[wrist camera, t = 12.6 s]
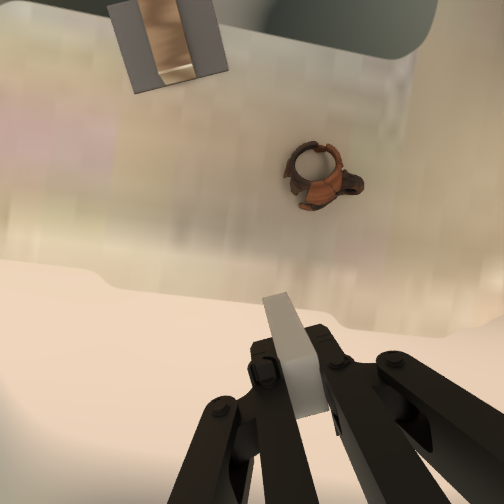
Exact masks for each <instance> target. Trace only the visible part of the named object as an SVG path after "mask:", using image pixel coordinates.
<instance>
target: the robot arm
mask: <svg viewBox="0 0 504 504" xmlns="http://www.w3.org/2000/svg"><path fill="white" fill-rule="evenodd" d="M262 300H263V304H264V307H265V311H266V315H267V319H268V323H269V327H270V330H271V334H272V337H271V338H267V339H263V340H260V341H256V342H253V344H252V346H251V348H250V350H251V351H250V352H251V360H252V361H251V362H250V363H249V365H248V368H247V369H248V373H249V376H250V379H251V383H252V386H253V387H252V389H251V390H250V391H249V392H248V393H247V394H246V395H245V396H243V397H242V398H240V399H238V400H235V398H233V397H231V396H220V397H217V398H215V399H214V400H212V401H211V402H210V403H209V404H208V405H207V406H206V408H205V409H204V411H203V414H202V417H201V419H200V421H199V424H198V426H197V429H196V431H195V434H194V437H193V439H192V442H191V444H190V447H189V449H188V452H187V454H186V457H185V459H184V462H183V464H182V467H181V469H180V472H179V474H178V477H177V479H176V482H175V484H174V487H173V490H172V492H171V495H170V497H169V500H168V502H167V504H247V502H248V496H249V490H250V484H251V478H252V471H253V465H254V456H256V455H257V454H259V453H260V458H261V468H262V477H263V485H264V495H265V504H319V501H318V497H317V494H316V490H315V487H314V483H313V479H312V476H311V472H310V469H309V465H308V462H307V458H306V454H305V450H304V447H303V443H302V439H301V436H300V432H299V429H298V425H297V422H296V419H300V418H303V417H307V416H311V415H315V414H318V413H322V412H326V411H329V407H330V409H331V413H332V417H333V421H334V426H335V431H336V435H337V436H339V435H340V438H341V440H342V442H343V445H344V447H345V450H346V452H347V454H348V457H349V459H350V461H351V464H352V466H353V469H354V471H355V473H356V475H357V478H358V480H359V483H360V485H361V487H362V490H363V492H364V495H365V497H366V499H367V502H368V504H451V503H450V501H449V500H448V498H447V497H446V495H445V494H444V492H443V491H442V489H441V488H440V486H439V485H438V483H437V482H436V480H435V479H434V478H433V476H432V475H431V473H430V472H429V470H428V469H427V467H426V466H425V464H424V463H423V461H422V460H421V458H420V457H419V455H418V454H417V452H418V453H419V454H420V455H421V456H422V457H423V458H424V459H425V460H426V461H427V462H428V463H429V464H430V465H431V466H432V467H433V468H434V469H435V470H436V471H437V472H438V473H439V474H440V475H441V476H442V477H443V478H444V479H445V480H446V481H447V482H449V483H450V485H452V486H453V487H454V488H455V489H456V490H457V491H458V492H459V493H460V494H461V495H462V496H463V497H464V498H465V499H466V500H467V501H468V502H469V503H470V504H504V414H503V413H501V412H500V411H498V410H496V409H495V408H493V407H492V406H490V405H489V404H487V403H485V402H484V401H482V400H480V399H479V398H477V397H476V396H474V395H473V394H471V393H469V392H468V391H466V390H465V389H463V388H461V387H460V386H458V385H457V384H455V383H453V382H452V381H450V380H449V379H447V378H445V377H444V376H442V375H441V374H439V373H437V372H436V371H434V370H433V369H431V368H429V367H428V366H426V365H425V364H423V363H421V362H420V361H418V360H417V359H415V358H413V357H412V356H410V355H409V354H406V353H404V352H401V351H386V352H383V353H381V354H380V355H378V356H377V358H376V363H359V362H355V361H354V359H353V358H351V357H350V356H348V355H346V354H344V352H343V351H342V349H341V348H340V346H339V344H338V343H337V341H336V340H335V339H334V337H333V335H332V334H331V332H330V331H329V329H328V328H327V327H325V326H324V325H322V324H317V325H314V326H310V327H306V328H304V327H303V325H302V323H301V321H300V319H299V317H298V315H297V313H296V311H295V309H294V307H293V305H292V303H291V301H290V299H289V296H288V294H287V292H284V293H280V294H276V295H273V296H269V297H265V298H262ZM328 404H329V406H328ZM415 450H416V451H417V452H416V451H415Z"/></svg>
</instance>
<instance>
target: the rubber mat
mask: <svg viewBox="0 0 504 504" xmlns="http://www.w3.org/2000/svg"><path fill="white" fill-rule="evenodd" d="M176 1H177V5H178V9H179V13H180V17H181V20H182V24H183V28H184V32H185V36H186V40H187V44H188V48H189V51H190V55H191V59H192V63H193V67H194V71H195V75H196V78H193V79H197V78H201V77H205V76H209V75H213V74H216V73H220V72H224V71H228V70H229V69H228V65H227V61H226V57H225V53H224V49H223V44H222V40H221V36H220V32H219V28H218V23H217V19H216V15H215V11H214V7H213V3H212V0H176ZM107 9H108V12H109V15H110V18H111V21H112V25H113V28H114V31H115V34H116V37H117V40H118V44H119V47H120V50H121V53H122V56H123V59H124V63H125V66H126V69H127V72H128V75H129V78H130V82H131V85H132V88H133V91H134V94H137V93H141V92H145V91H149V90H153V89H157V88H161V87H165V86H169V85H173V84H177V83H181V82H185V81H189V80H193V79H188V80H184V81H180V82H176V83H172V84H168V85H166V84H165V83H164V81H163V80H162V79H161V77H160V76H159V74H158V70H157V67H156V63H155V60H154V56H153V53H152V49H151V46H150V42H149V39H148V35H147V32H146V28H145V25H144V21H143V18H142V14H141V11H140V7H139V4H138V0H130V1H126V2H121V3H117V4H114V5H109V6H107Z"/></svg>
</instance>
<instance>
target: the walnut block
mask: <svg viewBox="0 0 504 504" xmlns="http://www.w3.org/2000/svg"><path fill="white" fill-rule="evenodd" d="M138 4H139V7H140V11H141V14H142V18H143V21H144V25H145V28H146V32H147V35H148V39H149V42H150V46H151V49H152V53H153V56H154V60H155V63H156V67H157V70H158V74H159V76H160V77H161V79H162V80H163V81H164V83H165V84H166V85H168V84H172V83H176V82H180V81H184V80H188V79H193V78H196V75H195V71H194V67H193V63H192V59H191V55H190V51H189V48H188V44H187V40H186V36H185V32H184V28H183V24H182V20H181V17H180V13H179V9H178V5H177V1H176V0H138Z"/></svg>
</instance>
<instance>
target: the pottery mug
mask: <svg viewBox="0 0 504 504" xmlns="http://www.w3.org/2000/svg"><path fill="white" fill-rule="evenodd" d="M309 149H314V150H315V152H320V153H321V152H326V151H327V152H329V153H330V154H331V155H332V156H333V157H334V159H335V162H336V167H335V170H334V171H333V173H332V174H331V175H330V176H329V177H327V178H326V179H323V180H320V181H309V180H306V179H304V178H302V177H301V176H300V175H299V174H298V173H297V171H296V170H295V162H296V159H297V157H298V156H299V155H300V154H301V153H303V152H304V151H306V150H309ZM342 167H343V163H342V160H341V156H340V154H339V152H338V151H337V149H336V148H335V147H333V146H332V145H330V144H327V145H326V146H323V145H319V144H318V143H317V142H316V141H311V142H308V143H305V144H303V145H301V146H299V147H298V148H297V149H296V151H294V153H293V154H292V156H291V158H290V159H289V160H288V162H287V165H286V169H285V172H284V178H286V177H291V180H290V186H291V192H292V193H293V194H294V195H298V193H299V192H302V191H303V190H306V189H309V190H308V194H307V197H306V201H307V203H311V206H309V205H305V204H302V203H300V204H299V207H300V208H301V209H303V210H307V211H315V210H319V209H321V208H323V207H325V206H326V205H327V204H329V203H331V202H332V201H333V200H335V199H336V198H337V196H339V195H345V194H346V195H358V194H360V193H361V192H362V191H363V190H364V181H363V179H362V178H361V177H359V176H357V175H353V174H350V173H348V172H347V170H343V171H342V169H341V168H342Z"/></svg>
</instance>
